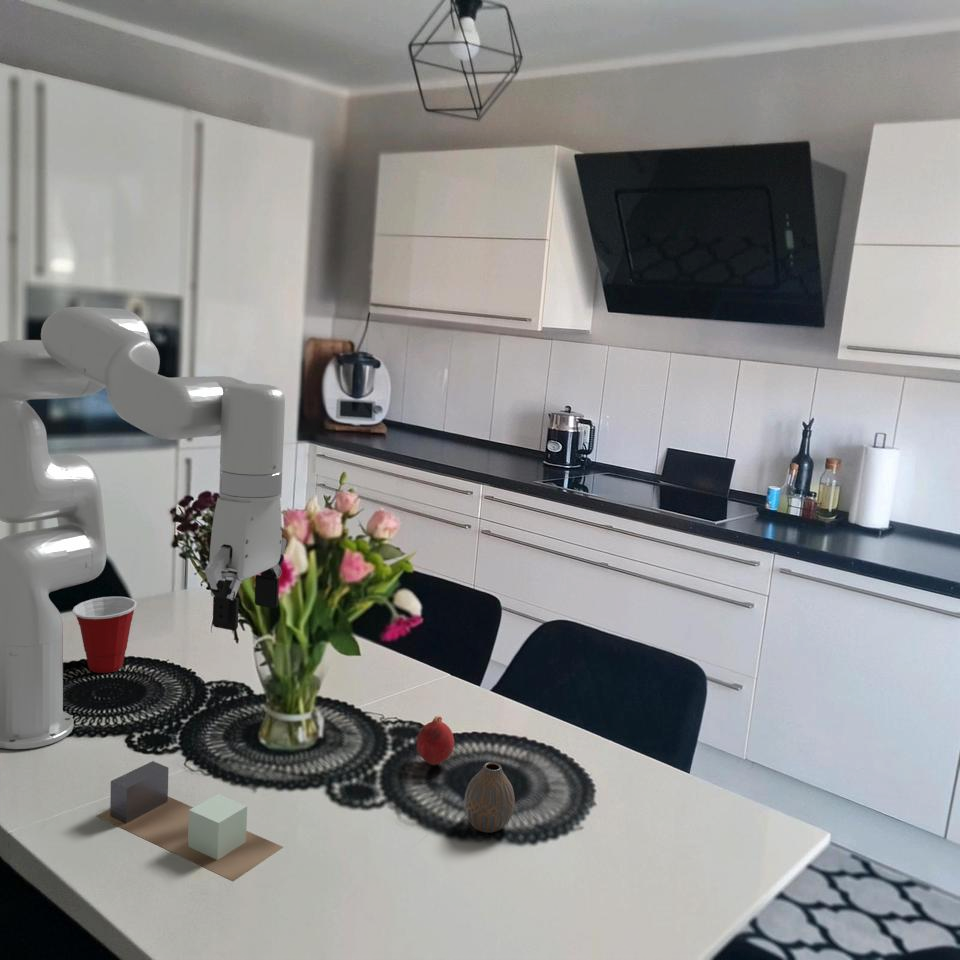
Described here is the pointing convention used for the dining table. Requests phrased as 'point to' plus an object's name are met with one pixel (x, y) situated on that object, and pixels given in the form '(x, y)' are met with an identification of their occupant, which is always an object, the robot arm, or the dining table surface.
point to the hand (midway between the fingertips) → (246, 616)
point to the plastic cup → (105, 631)
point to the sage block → (217, 826)
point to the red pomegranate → (435, 741)
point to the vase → (489, 799)
